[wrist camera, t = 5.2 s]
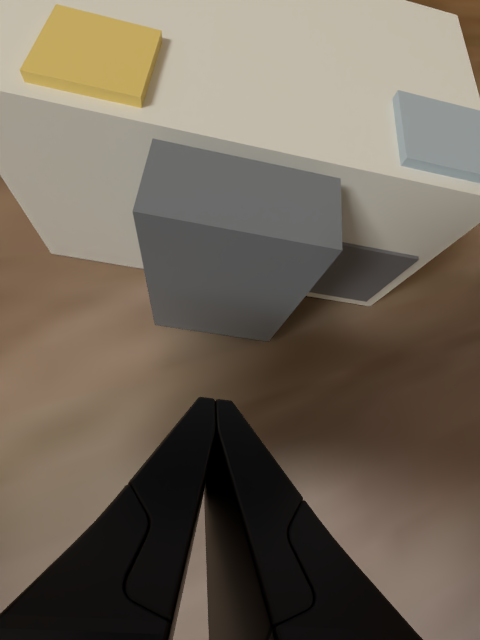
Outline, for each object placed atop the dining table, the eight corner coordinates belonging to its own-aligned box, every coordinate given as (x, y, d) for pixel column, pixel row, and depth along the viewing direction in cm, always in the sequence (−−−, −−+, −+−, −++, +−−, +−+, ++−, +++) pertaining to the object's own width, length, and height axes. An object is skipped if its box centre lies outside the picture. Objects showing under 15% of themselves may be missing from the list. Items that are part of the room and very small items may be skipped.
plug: (268, 341, 15) (342, 250, 8) (154, 324, 15) (132, 211, 8) (278, 186, 19) (336, 31, 12) (187, 167, 18) (192, -7, 11)
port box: (370, 308, 17) (518, 198, 10) (50, 256, 15) (-75, 68, 8) (361, 165, 21) (462, 6, 14) (104, 109, 19) (56, -112, 12)
